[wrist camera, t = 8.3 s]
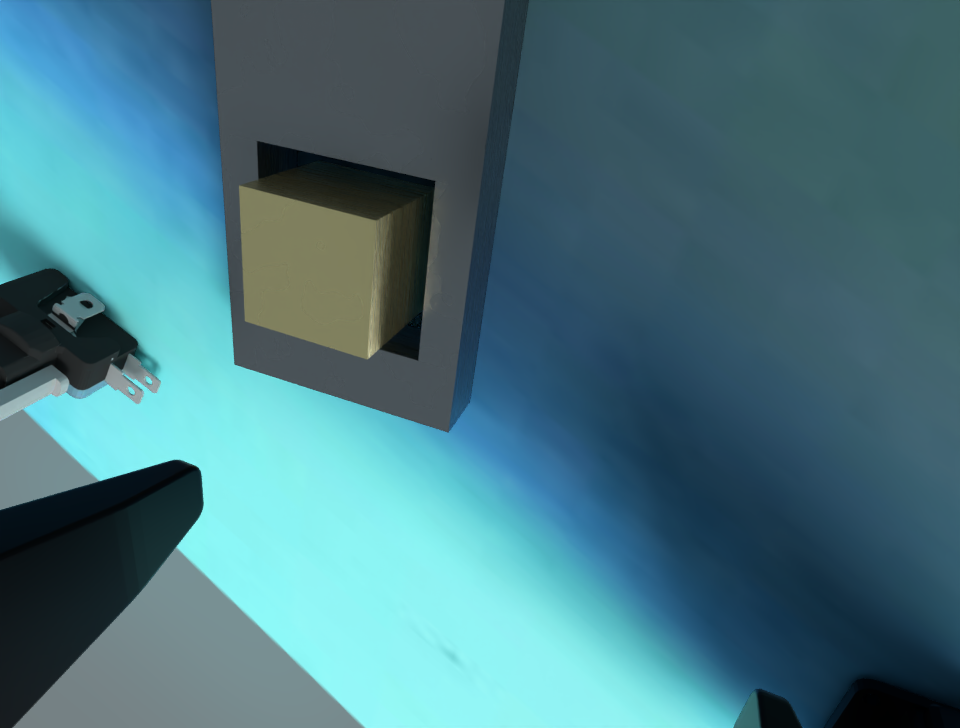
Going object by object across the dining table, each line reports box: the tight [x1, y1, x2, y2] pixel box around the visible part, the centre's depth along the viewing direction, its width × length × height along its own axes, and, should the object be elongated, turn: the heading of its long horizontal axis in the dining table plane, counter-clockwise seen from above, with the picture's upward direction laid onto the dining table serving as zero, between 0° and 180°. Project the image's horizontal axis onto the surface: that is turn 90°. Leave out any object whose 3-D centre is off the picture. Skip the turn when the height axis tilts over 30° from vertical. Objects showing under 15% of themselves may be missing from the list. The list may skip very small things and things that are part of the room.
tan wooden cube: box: [239, 160, 435, 359], centre depth 19 cm, size 4×4×4 cm
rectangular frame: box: [211, 0, 529, 432], centre depth 18 cm, size 20×8×2 cm, turn 172°
